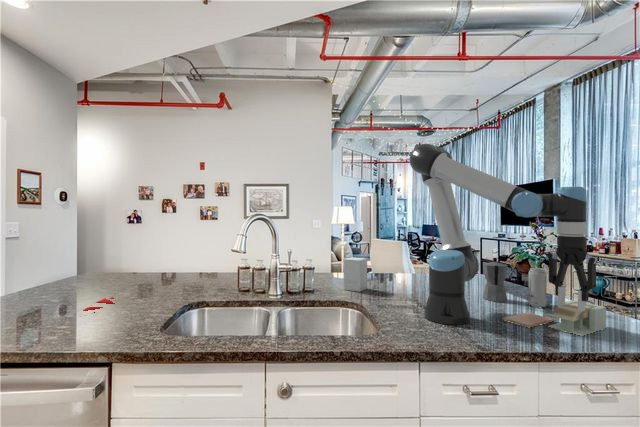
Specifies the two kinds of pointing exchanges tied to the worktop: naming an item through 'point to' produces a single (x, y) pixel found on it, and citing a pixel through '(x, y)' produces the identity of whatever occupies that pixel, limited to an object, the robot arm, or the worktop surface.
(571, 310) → the beech bar
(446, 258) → the robot arm
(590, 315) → the pocket block
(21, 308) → the worktop surface
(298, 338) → the worktop surface
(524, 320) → the terracotta tile
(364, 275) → the supplement box
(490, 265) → the coffeepot
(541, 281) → the energy drink can
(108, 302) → the cloth
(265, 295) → the worktop surface
